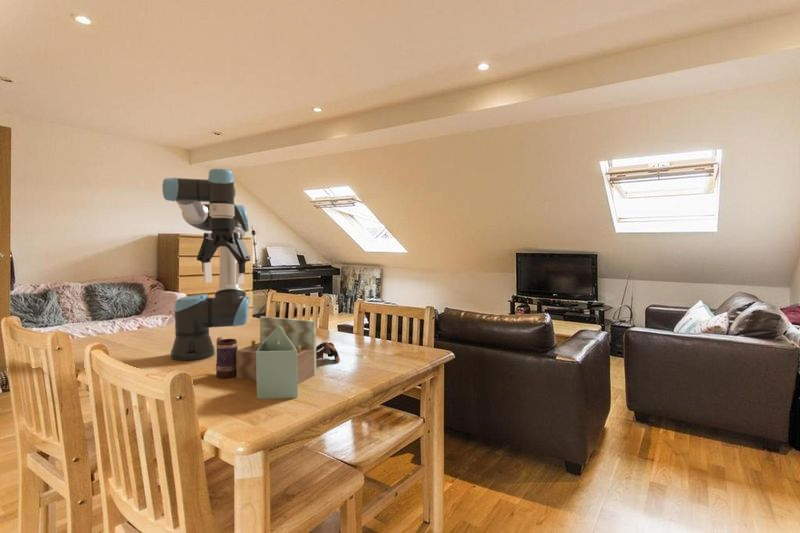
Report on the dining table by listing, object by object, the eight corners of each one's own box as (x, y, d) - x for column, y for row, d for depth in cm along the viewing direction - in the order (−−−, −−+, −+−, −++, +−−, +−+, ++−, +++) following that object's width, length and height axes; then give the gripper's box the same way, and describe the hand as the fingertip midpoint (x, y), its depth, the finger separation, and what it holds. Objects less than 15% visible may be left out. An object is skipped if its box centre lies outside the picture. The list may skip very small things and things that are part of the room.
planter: (241, 392, 123) (239, 325, 121) (264, 385, 129) (263, 321, 128) (274, 405, 113) (273, 333, 111) (298, 397, 119) (297, 328, 118)
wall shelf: (236, 377, 135) (235, 323, 134) (263, 366, 147) (262, 316, 146) (293, 386, 127) (292, 328, 126) (316, 374, 139) (315, 321, 138)
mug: (242, 375, 138) (242, 339, 137) (220, 380, 133) (220, 343, 132) (230, 368, 145) (229, 334, 144) (209, 373, 140) (208, 337, 139)
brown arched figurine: (339, 367, 149) (327, 348, 147) (316, 377, 151) (305, 359, 149) (345, 350, 160) (334, 332, 158) (324, 359, 162) (313, 342, 160)
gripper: (184, 218, 136) (185, 282, 138) (244, 216, 127) (245, 285, 128) (202, 219, 143) (204, 280, 145) (261, 217, 134) (262, 283, 135)
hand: (223, 283), depth 136 cm, fingers open, 13 cm apart
